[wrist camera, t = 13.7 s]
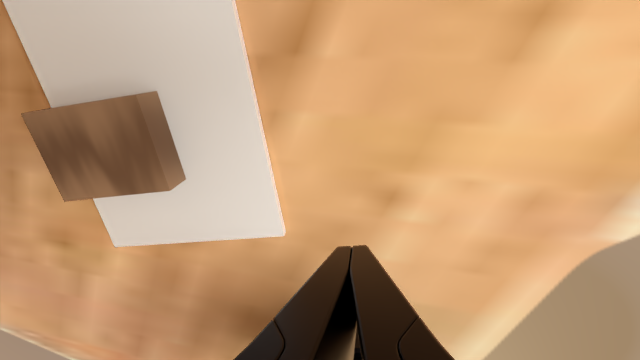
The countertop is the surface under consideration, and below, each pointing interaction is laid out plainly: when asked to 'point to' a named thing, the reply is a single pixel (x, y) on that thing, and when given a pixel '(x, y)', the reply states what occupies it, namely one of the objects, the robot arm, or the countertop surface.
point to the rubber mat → (165, 107)
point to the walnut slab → (107, 147)
